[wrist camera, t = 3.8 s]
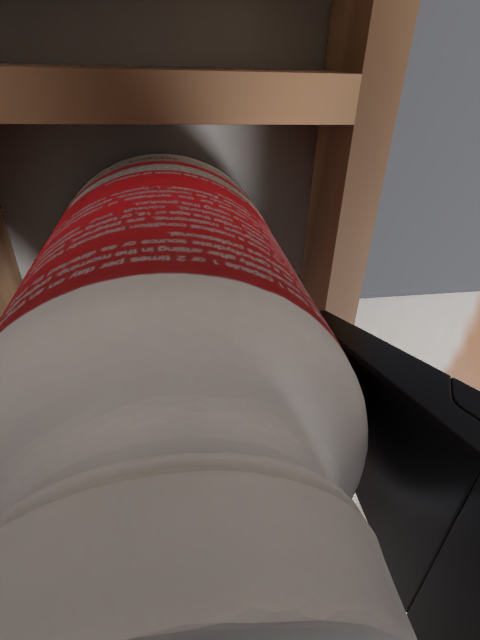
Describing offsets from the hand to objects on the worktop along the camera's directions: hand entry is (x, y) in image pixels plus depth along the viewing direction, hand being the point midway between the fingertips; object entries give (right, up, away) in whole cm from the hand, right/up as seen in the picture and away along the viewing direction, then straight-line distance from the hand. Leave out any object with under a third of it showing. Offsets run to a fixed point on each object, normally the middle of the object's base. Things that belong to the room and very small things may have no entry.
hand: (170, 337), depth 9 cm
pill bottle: (-1, +3, +4) cm, 5 cm away
